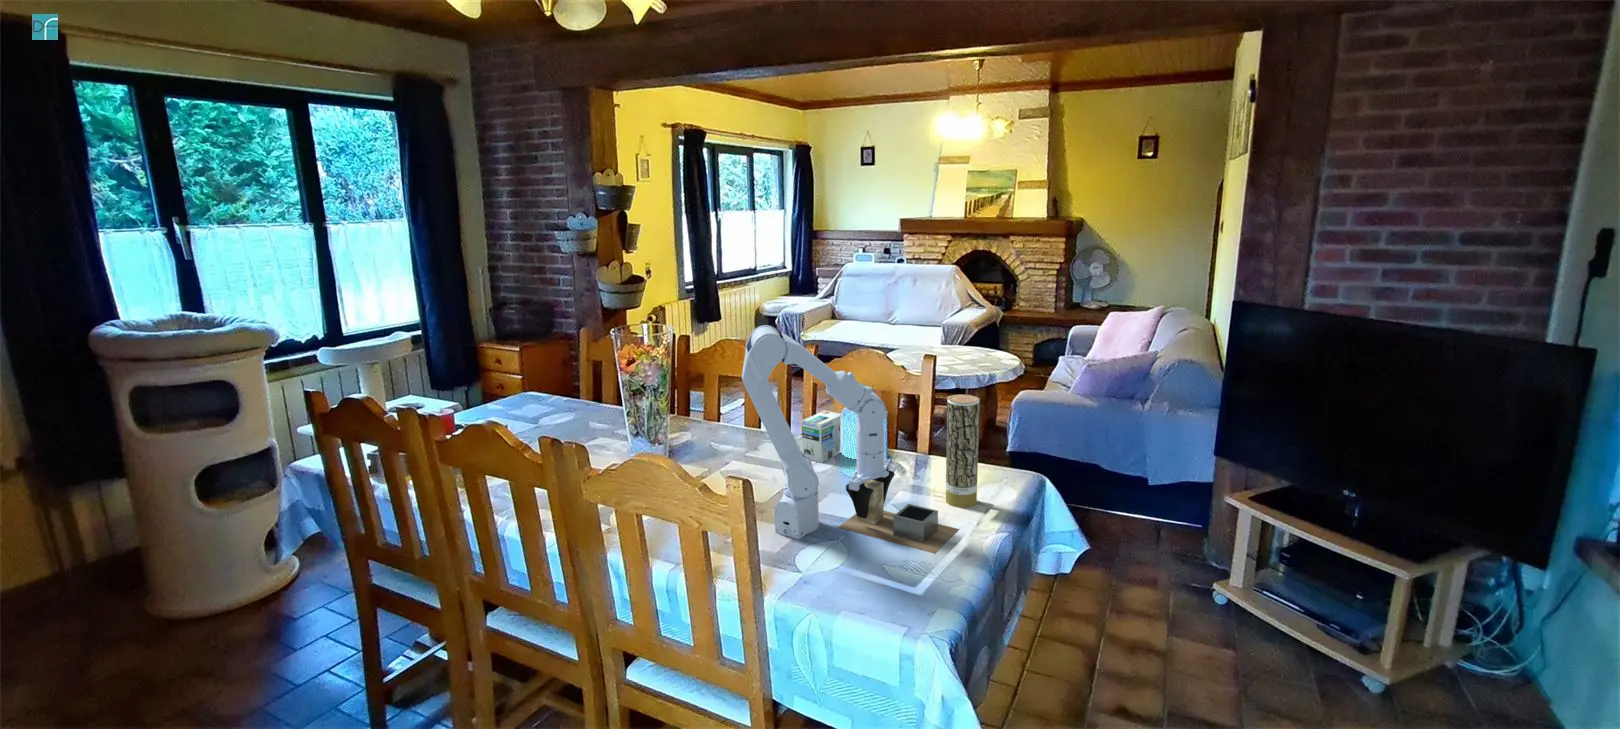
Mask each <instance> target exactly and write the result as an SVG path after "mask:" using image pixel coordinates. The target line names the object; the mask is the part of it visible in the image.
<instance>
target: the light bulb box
mask: <svg viewBox="0 0 1620 729" xmlns="http://www.w3.org/2000/svg"><path fill="white" fill-rule="evenodd" d="M841 414H842V413H839V412H833V411H829V410H822V411H820V412H818V413H815V414H813V415H811V416H809V417H807V418H805V419H802V420H801V429H802V430H801V432H802V453H803V454H804V455H806V456H807V457H808V458H809V459H810V460H811V461H814V462H816V463H819V464H820V463H821V464H822V463H824V462H826V461H828V460H831V459H833V458H835V457H837V456H838V455H840V454H839V451H840V415H841Z"/></svg>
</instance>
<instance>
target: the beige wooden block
mask: <svg viewBox="0 0 1620 729" xmlns="http://www.w3.org/2000/svg"><path fill="white" fill-rule="evenodd" d="M864 484H865V486H866V488H870V489H873V492H872V494H871V497H870V500H869V507H868V515H867V518H865V519H864V518H860V517H858V521H862V522H866V523H870V524H874V525H875V524H876V523H877V522H878V521H880V520H881V519H882V518H883V517H884V511H885V510H884V509H885V508H884V504H885V503H884V497H883V482H879V481H874V480H870V481H867V482H866V483H864Z"/></svg>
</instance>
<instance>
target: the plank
mask: <svg viewBox="0 0 1620 729" xmlns="http://www.w3.org/2000/svg"><path fill="white" fill-rule="evenodd" d="M896 513H897V512H896ZM896 513H895V512H890V511H887V510H884V517H883V518H882V519H881V520H880V521H878V522H877V523H876V524H875V525H874V524H870V523H866V522H862V521H858V517H857V515H856V513H855V514H853V515H852V516H851V517H849V518H848V519H847V520H846V521H844V522H843V523H841V525H839V526H837V529H840V530H841V529H842V530H846V531H849V532H853V533H857V534H860V535H864V536H867V537H872V538H875V539H879V540H883V541H886V542H891V543H894V544H897V545H901V546H906V547H909V548H911V549H912V548H913V549H916V550H920V551H923V552H928V553H931V554H936V553H938V552H939V550H941V548H942V547H943V546H945V544H947V542H949V540H951V538H953V536H955V534H956V533H958V532H959V530H960V528H956V527H952V526H949V525H945V524H940V523H938V530H937V531H936V532H935V533H934V534H933V535H932V536H931V537H930V538H929V539H928V540H927V541H926V542H925V543H921V542H917V541H913V540H909V539H905V538H901V537H898V536H894V535H893V516H894V515H895V514H896Z"/></svg>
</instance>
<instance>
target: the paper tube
mask: <svg viewBox="0 0 1620 729" xmlns="http://www.w3.org/2000/svg"><path fill="white" fill-rule="evenodd" d="M946 402H947V403H946V404H947V405H946V406H947V407H946V410H947V411H946V450H945V451H946V453H945V454H946V455H945V456H946V460H945V465H946V466H945V503H946V504H948V506H951V507H954V508H961V509H966V508H972V507H974V506H976V504H977V503H978V502H977V499H978V498H977V497H978V496H977V493H978V470H979V469H978V466H979V465H978V464H979V439H980V438H979V432H980V431H979V430H980V427H979V426H980V398H979V397H978V396H976V395H972V394H954V395H950V396H948V397H947V401H946Z"/></svg>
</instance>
